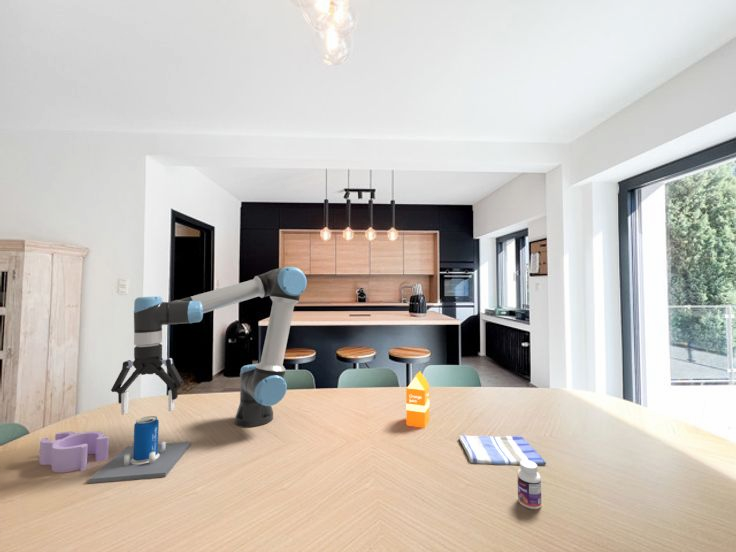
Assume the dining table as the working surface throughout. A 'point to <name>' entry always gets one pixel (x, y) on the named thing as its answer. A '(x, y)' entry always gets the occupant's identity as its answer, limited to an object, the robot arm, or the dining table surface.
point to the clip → (73, 450)
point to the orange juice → (417, 401)
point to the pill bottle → (529, 485)
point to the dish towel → (499, 450)
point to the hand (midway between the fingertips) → (148, 411)
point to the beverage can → (145, 438)
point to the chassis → (141, 464)
